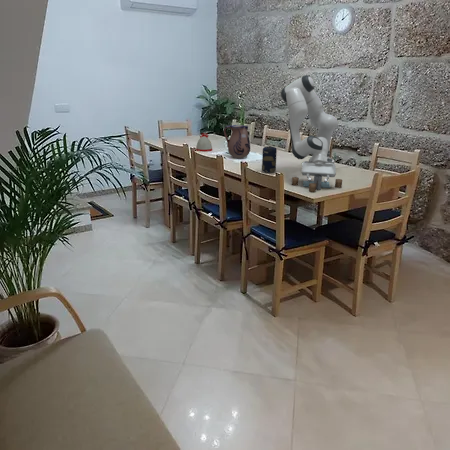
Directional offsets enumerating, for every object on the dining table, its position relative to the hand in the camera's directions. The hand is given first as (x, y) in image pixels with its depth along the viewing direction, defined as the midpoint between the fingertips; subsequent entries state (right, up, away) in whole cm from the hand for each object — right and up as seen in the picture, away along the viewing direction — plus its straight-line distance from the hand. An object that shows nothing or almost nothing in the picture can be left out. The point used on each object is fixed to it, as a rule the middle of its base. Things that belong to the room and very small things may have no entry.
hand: (317, 181), depth 252 cm
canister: (-25, +11, +42) cm, 50 cm away
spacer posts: (0, -4, +3) cm, 5 cm away
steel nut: (0, -4, +2) cm, 5 cm away
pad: (+2, -1, +11) cm, 12 cm away
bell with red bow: (-73, +39, +117) cm, 143 cm away
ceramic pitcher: (-45, +28, +87) cm, 102 cm away
